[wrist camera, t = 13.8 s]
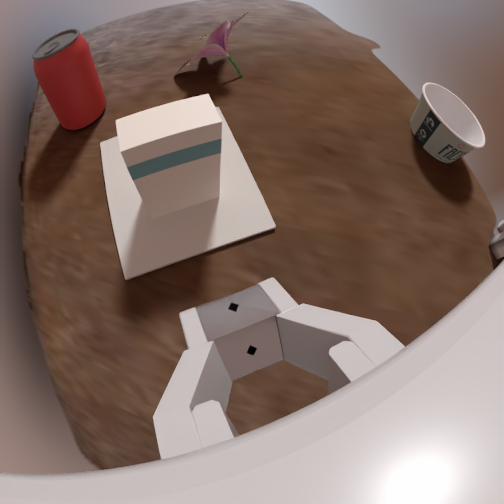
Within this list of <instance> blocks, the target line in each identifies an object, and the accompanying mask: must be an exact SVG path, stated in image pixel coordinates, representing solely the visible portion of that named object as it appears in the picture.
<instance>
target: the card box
mask: <svg viewBox="0 0 504 504" xmlns="http://www.w3.org/2000/svg"><path fill="white" fill-rule="evenodd" d="M116 127H117V134H118V141H119V147H120V152H121V155H122V157H123V159H124V162H125V164H126V166H127V169H128V171H129V174H130V176H131V178H132V180H133V181H134V184H135V186H136V188H137V190H138V192H139V194H140V196H141V199H142V201H143V203H144V205H145V207H146V209H147V211H148V213H149V215H150V217H151V219H155V218H158V217H160V216H163V215H166V214H169V213H172V212H175V211H178V210H181V209H184V208H187V207H190V206H193V205H196V204H199V203H203V202H206V201H209V200H212V199H215V198H218V197H220V163H221V145H222V138H221V136H222V120H221V118H220V116H219V114H218V112H217V110H216V108H215V106H214V104H213V102H212V100H211V98H210V96H209V94H204V95H200V96H195V97H191V98H187V99H183V100H179V101H175V102H172V103H168V104H165V105H161V106H158V107H154V108H151V109H148V110H144V111H141V112H138V113H135V114H132V115H129V116H126V117H124V118H121V119H118V120H116Z"/></svg>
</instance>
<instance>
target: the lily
mask: <svg viewBox="0 0 504 504" xmlns="http://www.w3.org/2000/svg"><path fill="white" fill-rule="evenodd" d="M249 12H250V11H249ZM247 13H248V12H247ZM247 13H246V14H247ZM246 14H244V15H243V16H245V15H246ZM243 16H241V17H240V18H238V19H237V20H236V21H235V22H234V21H232V22H230V24H229V25H228V24H227V20H226V21H225V22H224V23H222V24H221V25H220V26H219V27H217V28H216V29H215V30H214V31H213V32H212V33H211V34H210V35H209V36H208V37H207V38H206V37H204V36H202V37H204V38H206V39H204V40H206V41H205V44H204V45H205V48H204V49H202V50H201V51H200V52H199V53H198V54H197V55H196V56H195V57H193V58H192V59H190V60H188V61H187V62H186V63H185V64H183V65H182V67H181V68H180V69H179V70H178V71H177V73H178V72H179V71H180V70H181V69H182V68H183V67H184V66H185V65H186V64H187V63H188V62H189V61H190V63H191V62H192V61H193V60H195V59H198V58H203V57H210V56H219V55H225V56H227V57H228V59H229V60H230V61H231V62H232V64H233V65H234V67H235V68H236V70H237V72H238V73H239V75H240V77H242V74H241V72H240V71H239V69H238V67H237V66H236V64H235V63H234V61H233V60H232V59H231V57H230V56H229V55H228V53H227V41H228V36H229V33H230V31H231V29H232V27H233V26H234V25H235V24H236V23H237V22H238V21H239V20H240V19H241V18H242V17H243ZM233 22H234V23H233ZM205 36H206V35H205ZM200 39H203V38H200ZM190 63H189V64H190ZM189 64H188V65H189ZM177 73H176V74H177ZM176 74H175V75H176ZM174 77H175V76H174Z"/></svg>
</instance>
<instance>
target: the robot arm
mask: <svg viewBox="0 0 504 504" xmlns="http://www.w3.org/2000/svg"><path fill="white" fill-rule="evenodd" d="M196 309H197V310H196ZM179 316H180V320H181V324H182V328H183V331H184V335H185V339H186V342H187V346H188V350H186V351H184V352H183V354H182V356H181V358H180V360H179V362H178V364H177V367H176V369H175V371H174V373H173V375H172V377H171V379H170V381H169V384H168V386H167V388H166V390H165V392H164V394H163V396H162V399H161V401H160V403H159V405H158V407H157V409H156V411H155V414H154V416H153V420H154V426H155V431H156V436H157V441H158V446H159V451H160V456H161V460H156V461H152V462H147V463H142V464H137V465H132V466H126V467H120V468H114V469H107V470H99V471H91V472H80V473H65V474H14V473H2V472H0V504H504V260H503V261H502V262H501V263H500V264H499V265H498V266H497V267H496V269H495V270H494V271H493V272H492V273H491V274H490V275H489V276H488V277H487V278H486V279H485V280H484V281H483V282H482V283H481V284H480V285H479V286H478V287H477V288H476V289H475V290H474V291H472V292H471V293H470V294H469V295H468V296H467V297H466V298H465V299H464V300H463V301H462V302H461V303H459V304H458V305H457V306H456V307H455V308H454V309H453V310H451V311H450V312H449V313H448V314H447V315H446V316H444V317H443V318H442V319H441V320H440V321H438V322H437V323H436V324H435V325H433V326H432V327H431V328H430V329H428V330H427V331H426V332H425V333H423V334H422V335H421V336H419V337H418V338H417V339H415V340H414V341H413V342H411V343H410V344H409V345H407V346H406V347H405V346H404V345H403V344H401V343H400V342H399V341H398V340H397V339H396V338H395V337H394V336H393V335H392V334H390V333H389V332H388V331H387V330H386V329H385V328H384V327H383V326H382V325H380V324H379V323H378V322H377V321H374V320H370V319H365V318H361V317H357V316H352V315H348V314H344V313H340V312H335V311H331V310H327V309H323V308H319V307H315V306H311V305H307V304H301V305H298V304H297V303H296V302H295V301H294V300H293V298H292V297H291V296H290V295H289V294H288V293H287V292H286V291H285V289H284V288H283V287H282V286H281V285H280V284H279V283H278V282H277V281H276V279H275V278H270V279H267V280H265V281H263V282H260V283H258V284H257V285H254V286H252V287H249V288H247V289H244V290H242V291H239V292H237V293H234V294H231V295H229V296H225V297H222V298H220V299H217V300H214V301H211V302H208V303H205V304H202V305H200V306H197V307H196V308H195V307H194V308H191V309H188V310H186V311H183V312H180V314H179ZM283 359H284V360H285V361H287V362H289V363H291V364H293V365H295V366H297V367H300V368H302V369H304V370H306V371H308V372H310V373H312V374H315V375H317V376H319V377H321V378H323V379H326V380H328V396H326V397H324V398H322V399H320V400H318V401H316V402H314V403H312V404H310V405H308V406H306V407H304V408H302V409H300V410H298V411H296V412H294V413H292V414H290V415H288V416H285V417H283V418H281V419H279V420H277V421H274V422H272V423H270V424H267V425H265V426H263V427H260V428H258V429H255V430H253V431H250V432H248V433H245V434H242V435H240V436H239V434H238V432H237V431H236V429H235V428H234V426H233V424H232V423H231V421H230V419H229V418H228V416H227V414H226V409H227V404H228V400H229V395H230V390H231V385H232V381H233V380H236V379H238V378H240V377H243V376H245V375H247V374H249V373H252V372H254V371H256V370H259V369H261V368H264V367H266V366H269V365H271V364H274V363H276V362H278V361H281V360H283Z"/></svg>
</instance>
